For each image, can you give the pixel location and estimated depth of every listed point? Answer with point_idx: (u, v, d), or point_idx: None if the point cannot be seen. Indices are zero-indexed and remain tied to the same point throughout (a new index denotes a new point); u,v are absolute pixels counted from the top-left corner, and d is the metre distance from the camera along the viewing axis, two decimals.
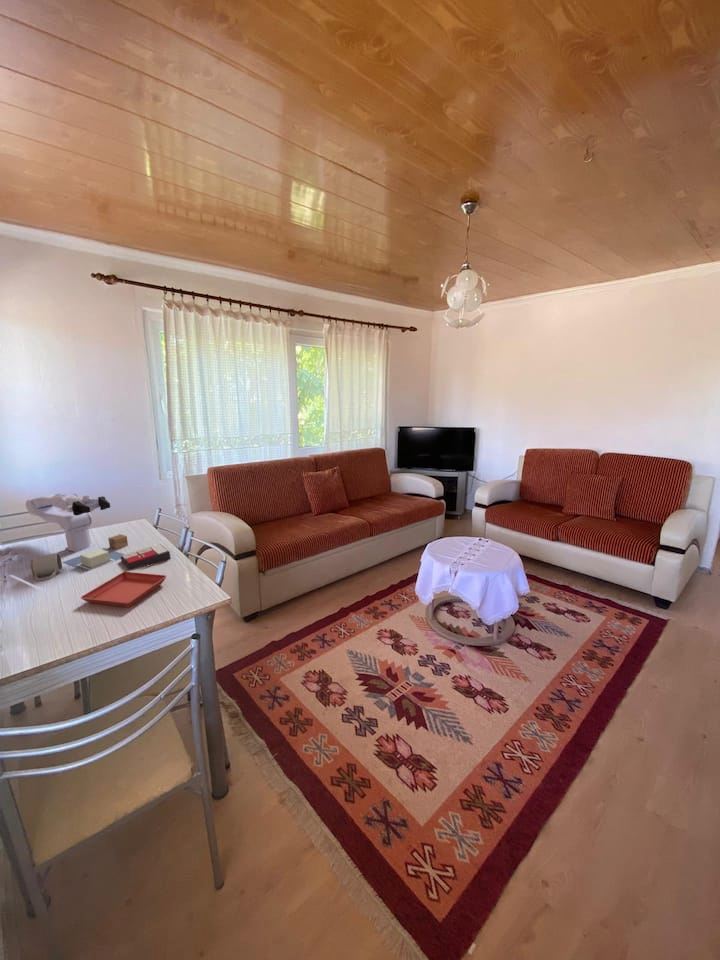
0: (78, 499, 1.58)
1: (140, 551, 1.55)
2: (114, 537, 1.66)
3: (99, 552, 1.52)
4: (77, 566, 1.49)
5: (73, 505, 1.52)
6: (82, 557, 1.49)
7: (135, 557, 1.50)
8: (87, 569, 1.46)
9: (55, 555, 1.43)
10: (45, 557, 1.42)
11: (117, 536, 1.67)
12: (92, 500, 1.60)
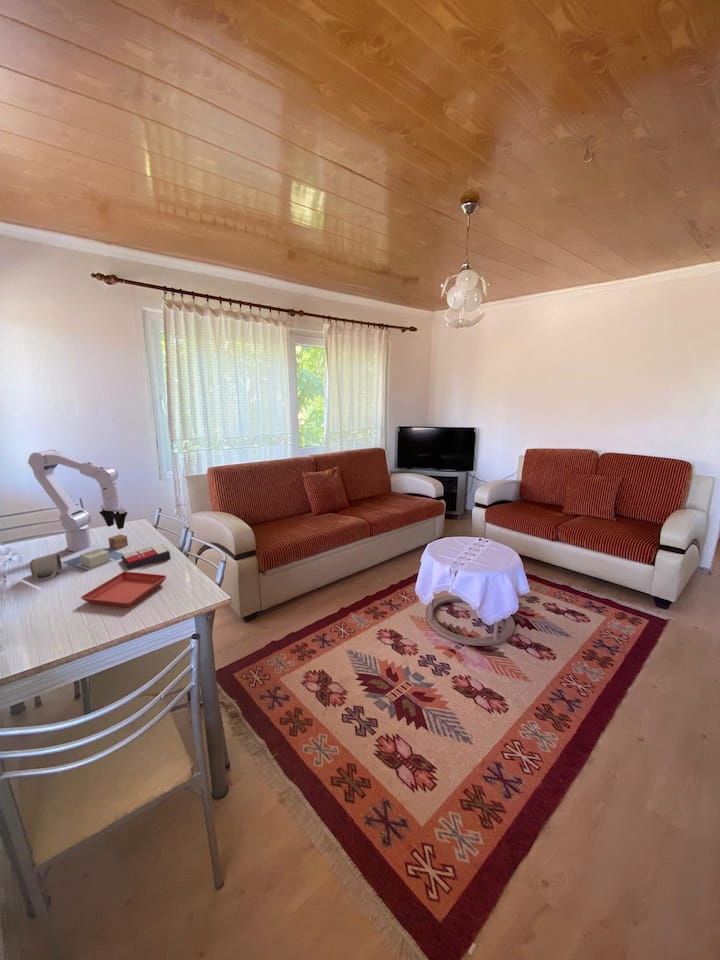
0: (118, 499, 1.65)
1: (141, 551, 1.55)
2: (114, 537, 1.66)
3: (99, 552, 1.52)
4: (77, 566, 1.49)
5: (125, 514, 1.63)
6: (82, 557, 1.49)
7: (135, 557, 1.50)
8: (87, 569, 1.46)
9: (55, 555, 1.42)
10: (45, 557, 1.41)
11: (117, 536, 1.67)
12: None
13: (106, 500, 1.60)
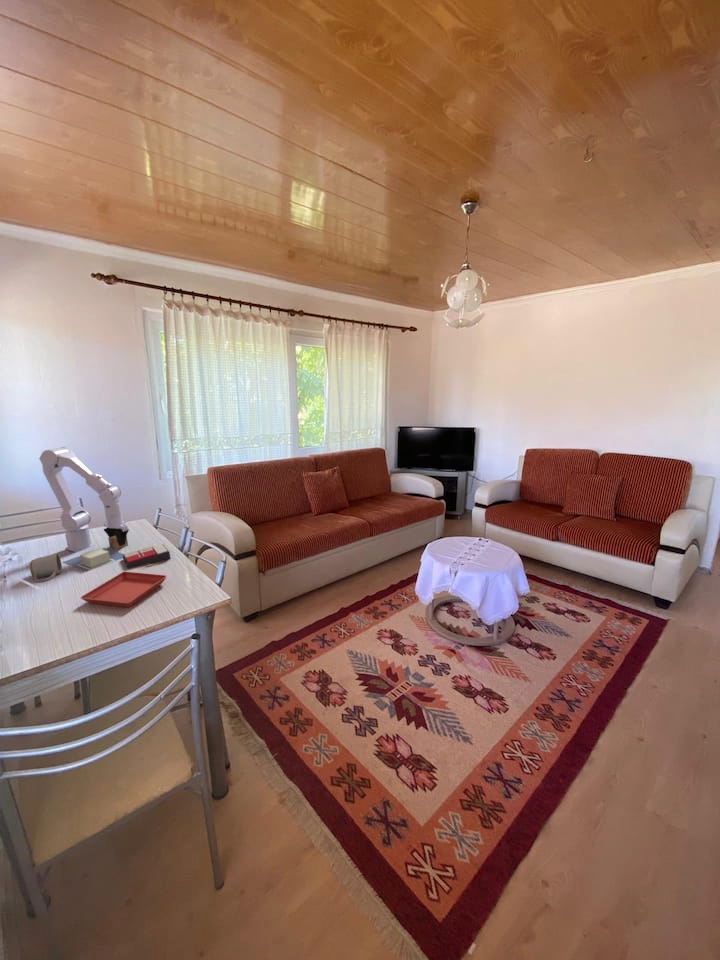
0: (121, 516, 1.67)
1: (141, 550, 1.56)
2: (114, 537, 1.66)
3: (99, 552, 1.52)
4: (77, 566, 1.49)
5: (126, 531, 1.65)
6: (82, 557, 1.49)
7: (135, 556, 1.50)
8: (87, 569, 1.46)
9: (54, 556, 1.42)
10: (44, 558, 1.41)
11: None
12: None
13: (109, 518, 1.62)
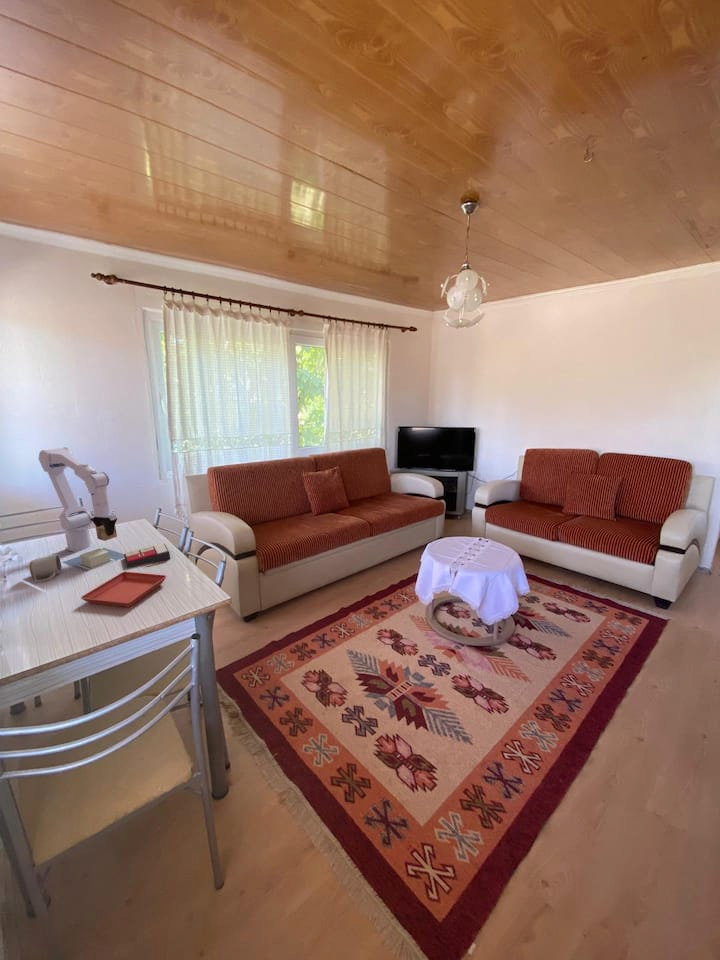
0: (109, 505, 1.58)
1: (142, 549, 1.56)
2: (102, 527, 1.57)
3: (99, 552, 1.52)
4: (77, 566, 1.49)
5: (115, 520, 1.57)
6: (82, 557, 1.49)
7: (135, 555, 1.51)
8: (87, 569, 1.46)
9: (54, 556, 1.42)
10: (44, 558, 1.40)
11: None
12: None
13: (96, 506, 1.53)
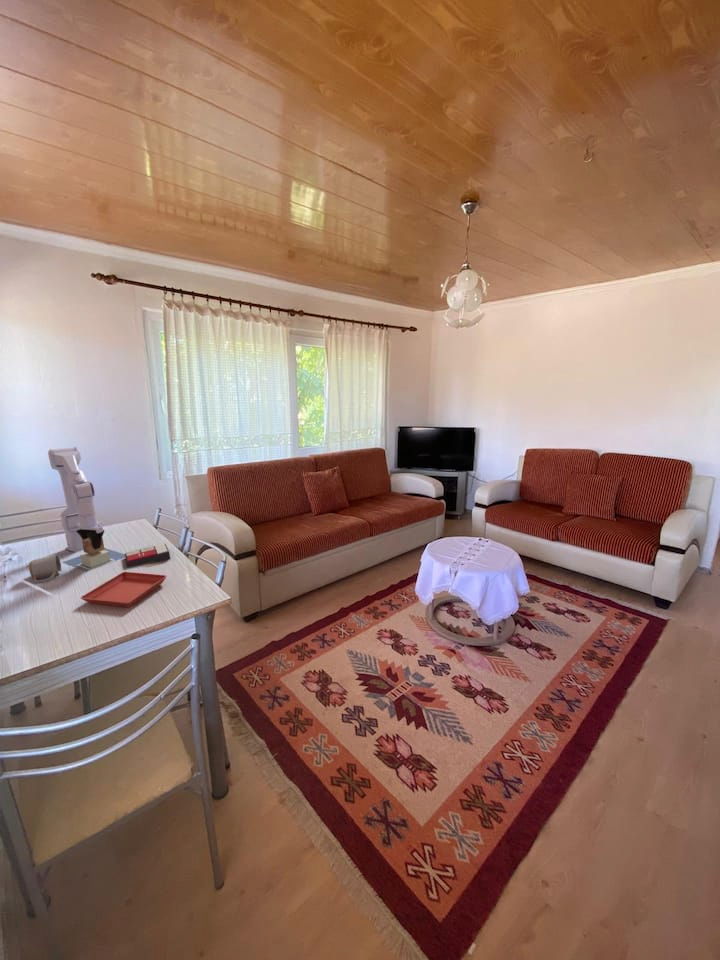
0: (96, 516, 1.49)
1: (143, 549, 1.57)
2: (89, 539, 1.49)
3: (99, 552, 1.52)
4: (77, 566, 1.49)
5: (101, 532, 1.48)
6: (82, 557, 1.49)
7: (135, 555, 1.51)
8: (87, 569, 1.46)
9: (54, 557, 1.41)
10: (44, 559, 1.40)
11: None
12: None
13: (82, 518, 1.45)
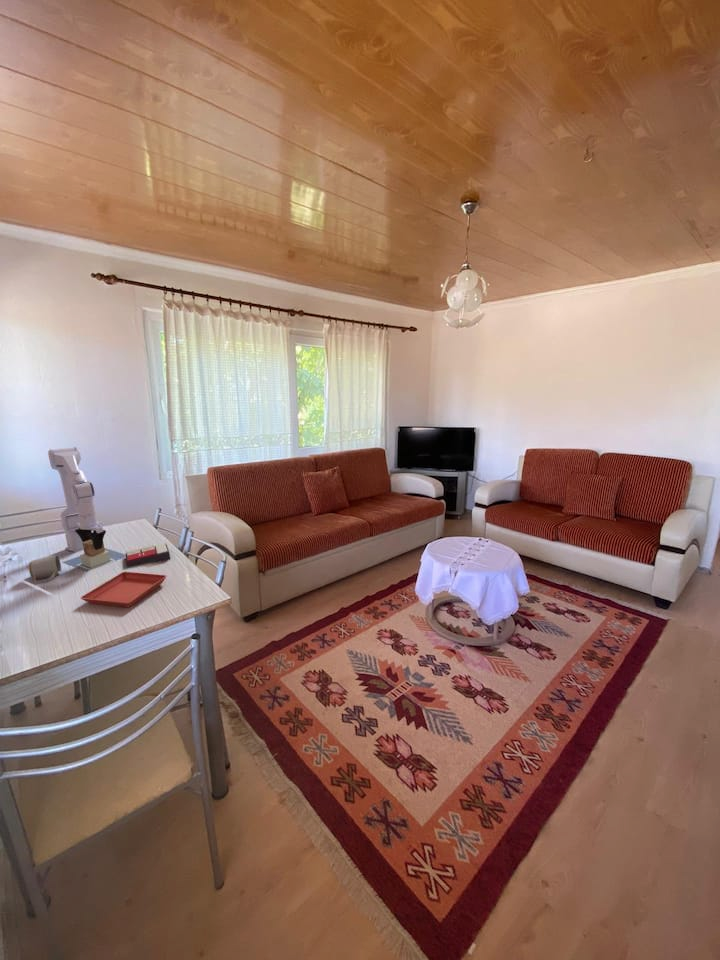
0: (96, 516, 1.49)
1: (144, 549, 1.57)
2: (89, 542, 1.49)
3: None
4: (77, 566, 1.49)
5: (103, 533, 1.47)
6: (82, 557, 1.49)
7: (136, 555, 1.52)
8: (87, 569, 1.46)
9: (54, 557, 1.41)
10: (44, 559, 1.40)
11: None
12: None
13: (82, 518, 1.45)
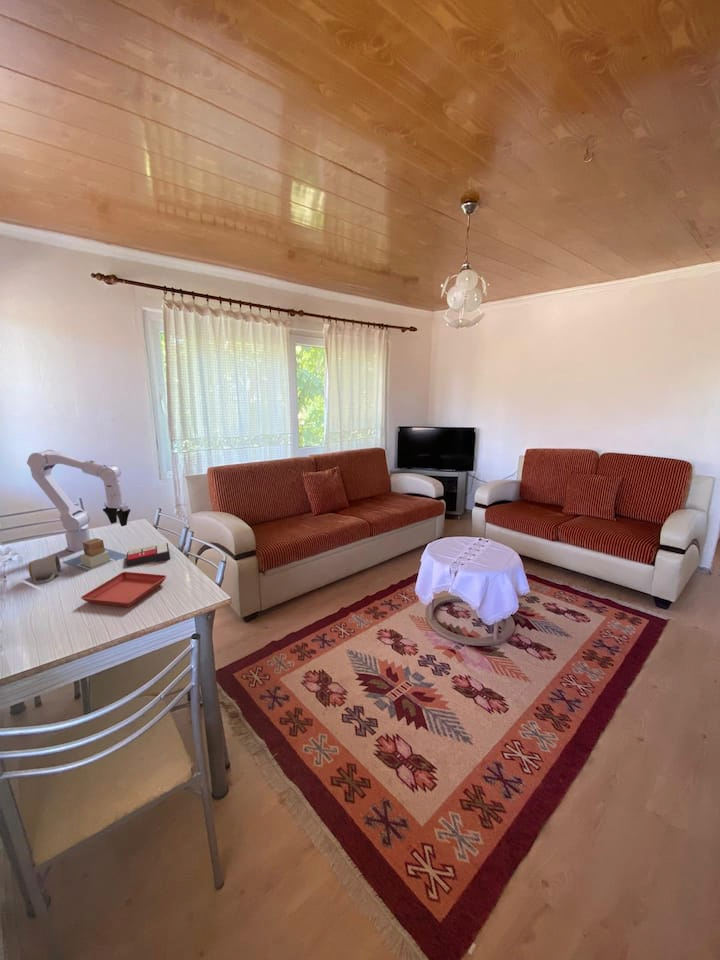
0: None
1: (145, 548, 1.57)
2: (89, 542, 1.49)
3: None
4: (77, 566, 1.49)
5: (128, 511, 1.65)
6: (82, 557, 1.49)
7: (136, 554, 1.52)
8: (87, 569, 1.46)
9: (54, 557, 1.41)
10: (43, 559, 1.39)
11: (92, 541, 1.50)
12: None
13: (109, 497, 1.62)
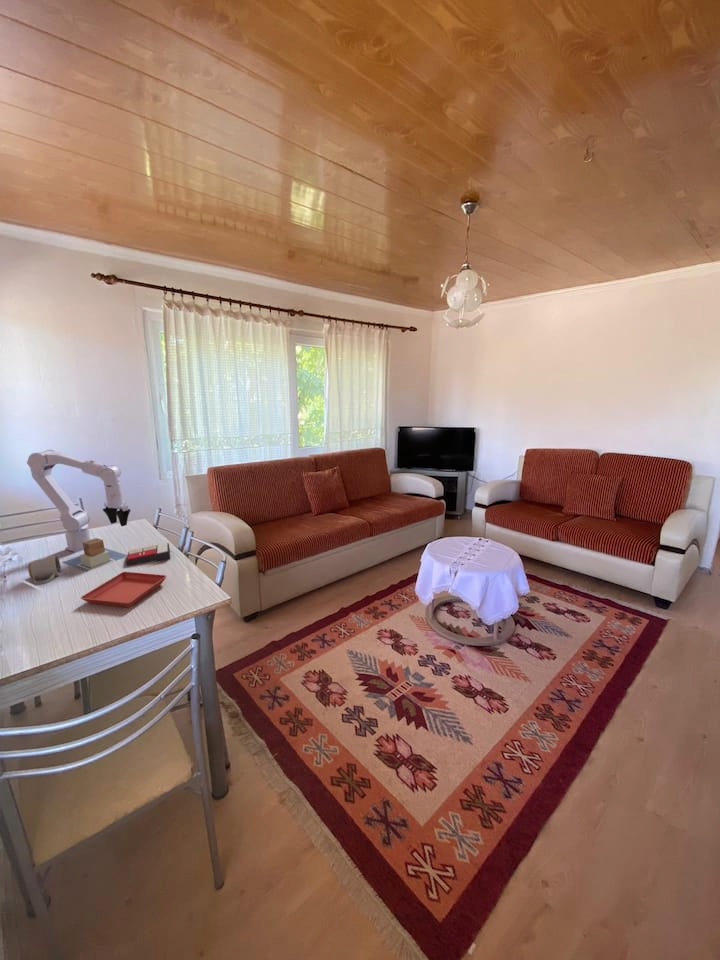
0: None
1: (146, 548, 1.58)
2: (89, 542, 1.49)
3: None
4: (77, 566, 1.49)
5: (128, 511, 1.65)
6: (82, 557, 1.49)
7: (136, 554, 1.53)
8: (87, 569, 1.46)
9: (53, 558, 1.40)
10: (43, 560, 1.39)
11: (92, 541, 1.50)
12: None
13: (109, 497, 1.62)
